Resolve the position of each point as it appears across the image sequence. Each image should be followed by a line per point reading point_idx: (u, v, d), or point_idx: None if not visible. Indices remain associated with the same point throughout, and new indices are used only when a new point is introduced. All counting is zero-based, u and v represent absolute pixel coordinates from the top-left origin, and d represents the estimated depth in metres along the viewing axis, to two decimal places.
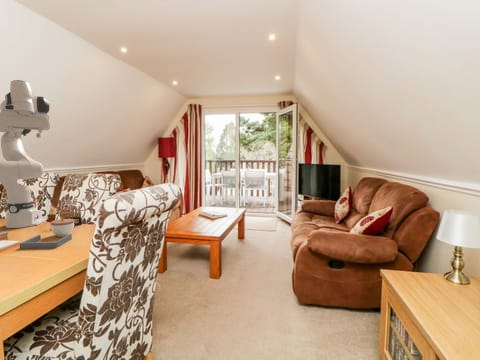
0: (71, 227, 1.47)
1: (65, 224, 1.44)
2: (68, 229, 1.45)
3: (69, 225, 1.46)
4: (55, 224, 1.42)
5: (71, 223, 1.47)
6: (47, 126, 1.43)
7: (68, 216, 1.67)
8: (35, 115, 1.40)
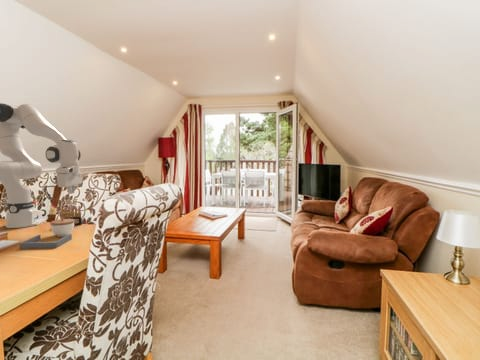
0: (71, 227, 1.47)
1: (65, 224, 1.44)
2: (68, 229, 1.45)
3: (69, 225, 1.46)
4: (55, 224, 1.42)
5: (71, 223, 1.47)
6: (81, 182, 1.65)
7: (68, 216, 1.67)
8: (77, 173, 1.60)
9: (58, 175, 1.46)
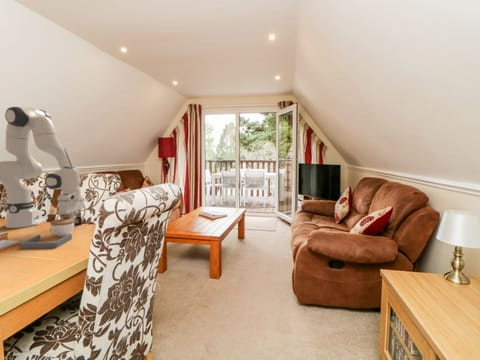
0: (71, 227, 1.47)
1: (65, 224, 1.44)
2: (68, 229, 1.45)
3: (69, 225, 1.46)
4: (55, 224, 1.42)
5: (71, 223, 1.47)
6: (83, 206, 1.66)
7: (68, 216, 1.67)
8: (79, 198, 1.61)
9: (60, 203, 1.47)
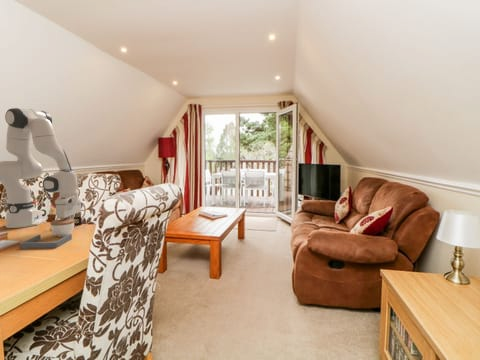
0: (71, 227, 1.47)
1: (65, 224, 1.44)
2: (68, 229, 1.45)
3: (69, 225, 1.46)
4: (55, 224, 1.42)
5: (71, 223, 1.47)
6: (80, 210, 1.63)
7: None
8: (76, 202, 1.58)
9: (57, 206, 1.45)
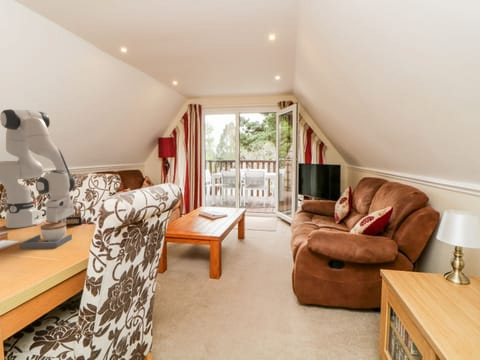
0: (63, 231, 1.38)
1: (56, 228, 1.35)
2: (59, 234, 1.37)
3: (61, 229, 1.37)
4: (45, 228, 1.34)
5: (63, 227, 1.38)
6: (73, 213, 1.55)
7: None
8: (68, 204, 1.50)
9: (47, 210, 1.36)
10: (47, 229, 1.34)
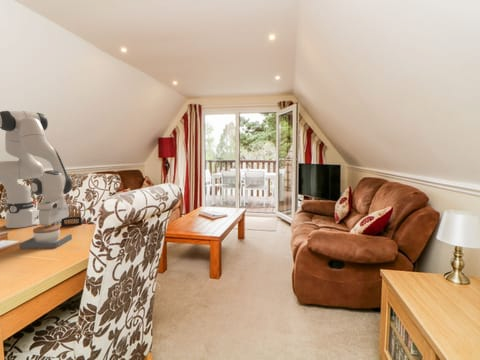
0: (56, 235, 1.33)
1: (49, 232, 1.30)
2: (53, 237, 1.31)
3: (54, 232, 1.32)
4: (38, 232, 1.28)
5: (56, 230, 1.32)
6: (68, 215, 1.49)
7: (68, 216, 1.67)
8: (63, 206, 1.44)
9: (40, 212, 1.31)
10: (40, 232, 1.28)
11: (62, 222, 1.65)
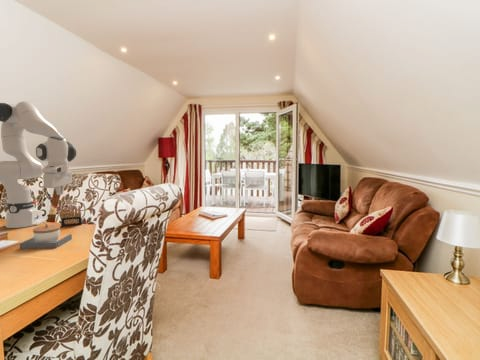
0: (56, 235, 1.33)
1: (49, 232, 1.30)
2: (53, 237, 1.31)
3: (54, 232, 1.31)
4: (38, 232, 1.28)
5: (56, 230, 1.32)
6: (71, 182, 1.53)
7: (68, 216, 1.67)
8: (66, 173, 1.48)
9: (45, 175, 1.35)
10: (39, 232, 1.28)
11: (62, 222, 1.65)
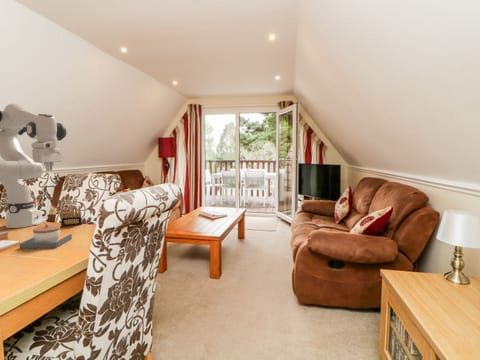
0: (56, 235, 1.33)
1: (49, 232, 1.30)
2: (53, 237, 1.31)
3: (54, 232, 1.31)
4: (38, 232, 1.28)
5: (56, 230, 1.32)
6: (61, 160, 1.57)
7: (68, 216, 1.67)
8: (56, 150, 1.52)
9: (34, 150, 1.39)
10: (39, 232, 1.28)
11: (62, 222, 1.65)
